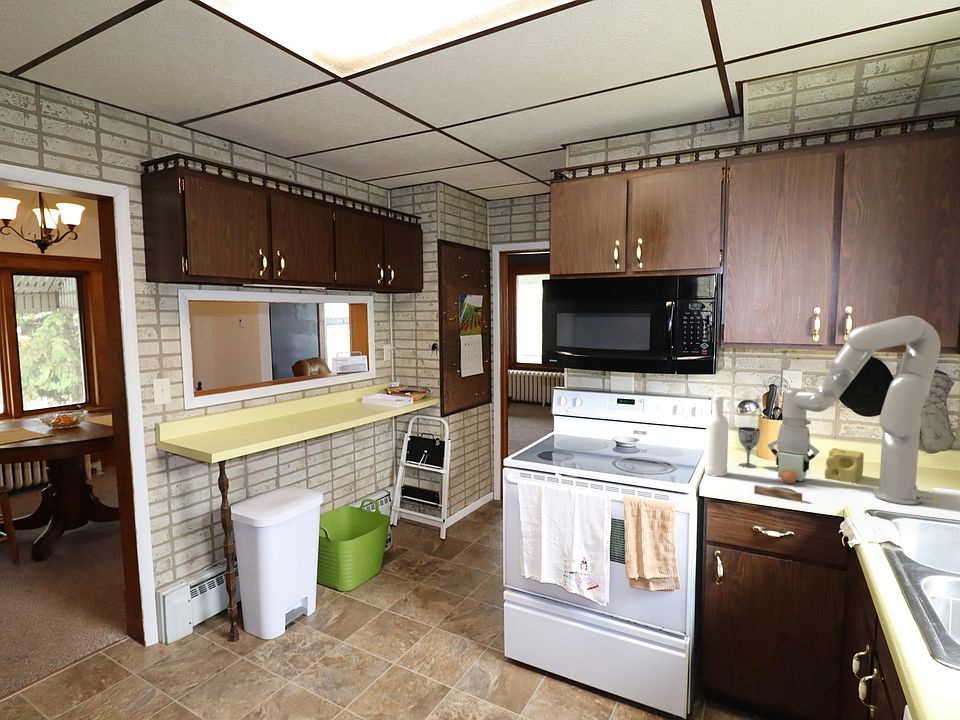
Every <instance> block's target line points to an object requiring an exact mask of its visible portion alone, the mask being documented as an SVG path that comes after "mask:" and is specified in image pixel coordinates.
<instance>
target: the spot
mask: <svg viewBox="0 0 960 720" xmlns="http://www.w3.org/2000/svg"><path fill="white" fill-rule="evenodd" d="M768 487H769V486H768ZM769 488H775V489H781V490H787V491H792V492H797V491H796V490H793V488H792V489H791V488H789V487H788V488H787V487H783V486H770V487H769Z"/></svg>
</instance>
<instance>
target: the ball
mask: <svg viewBox="0 0 960 720" xmlns="http://www.w3.org/2000/svg"><path fill="white" fill-rule="evenodd" d="M780 478H781V481H782V482H784V483H786V484H788V485H789V484H791V485H792V484H794V483H795V482H796V481H797V480H796V479H797V476H796V474H795V472H794V471H792V470H784V471H783V472H782V473H781V477H780Z"/></svg>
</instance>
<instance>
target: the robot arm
mask: <svg viewBox="0 0 960 720" xmlns="http://www.w3.org/2000/svg"><path fill="white" fill-rule="evenodd" d="M902 345H906V349H905V352H904V355H903V359H902V361H901V362H902V363H901V366H900V369H899V371H898V374H897V376H896V377H894V378H893V380H892V381H891V382H890V383H889V384H890V385H889V387H888V390H887V392H886V396H885V399H884V402H883V405H882V409H881V412H880V415H879V418H878V419H879V420H878V422H879V426H880V429H882V437H881V438H882V439H881V450H880V451H881V452H880V468H879V488H878V489H877V488H876V489H874V490H873V492H872V493H873V494H874V495H875V496H876V497H875V496H874V495H873V496H874V497H875V498H877V497H878V498H877V499H879V498H880V499H879V500H881V499H883V500H882V501H884V500H885V501H884V502H888V503H892V504H898V505H920V504H921V502H922V498H923V499H926V500H927V499H928V500H934V498H935V497H934V496H935V495H934V493H932V492H929V491H925V490H924V491H923V490H920V489H918V485H917V478H918V477H917V476H918V475H917V474H918V473H917V472H918V459H919V448H920V447H919V445H920V436H921V435H920V434H921V428H922V426H921V425H922V417H921V415H922V411H923V408H924V406H925V402H926V400H927V399H926V398H927V397H928V395H929V393H930V390H931V386H932V385H931V384H932V382H933V377H934V375H935V371H936V367H937V364H938V361H939V357H940V354H941V353H940V352H941V340H940V336H939V334H938V332H937V330H936V329H935V328H934V327H933V326H932V325H931V324H930V323H929V322H927V321H926V320H924V319H923V318H921V317H918V316H916V315H903V316H899V317H895V318H891V319H888V320H882V321H880V322H875V323H870V324H866V325H865V324H864V325H861V326H857V327H855V328H853V329H852V330H851V331H850V332H849V334H848V335H847V339H846V342H845V344H844V345H843V346H842V347H841V349H840V350H839V351H838V353H837V354H836V355H835V356H834V357H833V359H832V360H831V363H830V366H829V370H828V373H827V374H826V376H825V377H824V378H823V380H822V381H821V382H820V384H819V385H818V386H817V387H816V389H814V390H809V391H808V390H806V389H803V388H798V387H797V388H796V387H789V388H785V389H784V390H783V395H782V396H783V397H782V418H781V419H782V421H781V423H780V424H779V429H778V434H777V439H776V440H774V441H772V442H770V443H768V444H767V447H768V448H769V450H770V451H771V453H772V454H773V455H774V457H776V459H775V466H778V462H779V453H780V452H787V453H794V454H802V455H804V459H805V461H804V468H803V472H806V473H807V471H809V469H810V461H811V460H813V459H815V457H816V456H817V455H819V453H820V450H819V449H818V448H817V447H815V446H814V445H812V444H811V437H810V429H809V426H808V425H811V423H812V421H811V420H808V419H807V411H810V412H815V413H821V412H824V411H826V410H828V409H829V408H831V407H833V406H834V405H835V404H836V402H837V401H838V399H840V397H841V396H842V395H843V393H844V392H845V391H846V389H847V388H848V387H849V385H850V384H851V383H852V381H853V380H854V379H855V378H856V376H858V374H859V373H860V371H861V369H863V367H864V366H865V364H867V362H869V360H870V359H871V357H872V356H873V355H874V353H875V352H876V351H877V350H882V349H887V348H892V347H896V346H902ZM775 446H776V448H775ZM810 450H811V451H812V453H811V454H810V455H809V454H808V453H809V452H810Z"/></svg>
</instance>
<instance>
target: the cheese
mask: <svg viewBox="0 0 960 720" xmlns="http://www.w3.org/2000/svg"><path fill="white" fill-rule="evenodd" d="M864 458H865V457H864V452H862V451H856V450H848V449H841V448H835V447H833V448H831V449H830V450H829V451H828V457H827V458H826V461H825V466H826V468H825V470H824V478H825V479H826V480H827V479H829V480H834V481H840V482H844V481H845V483H849V482H851V483H850V484H854V483H856V484H857V483H859V481H861V479H862V478H863V474H864V473H863V472H864V471H863V470H864Z"/></svg>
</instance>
